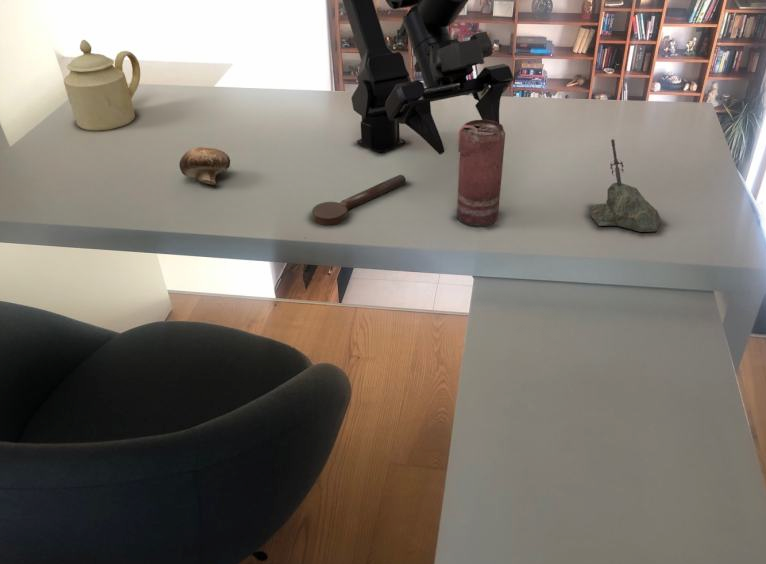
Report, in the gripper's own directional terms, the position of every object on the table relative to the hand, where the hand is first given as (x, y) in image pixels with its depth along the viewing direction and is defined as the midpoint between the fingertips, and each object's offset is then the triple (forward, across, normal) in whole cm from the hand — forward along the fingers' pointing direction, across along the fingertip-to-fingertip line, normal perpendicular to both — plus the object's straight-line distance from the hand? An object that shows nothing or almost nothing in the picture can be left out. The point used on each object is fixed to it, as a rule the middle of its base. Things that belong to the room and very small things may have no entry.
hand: (470, 146), depth 99 cm
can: (+9, 0, +5) cm, 11 cm away
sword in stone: (+17, +19, -2) cm, 26 cm away
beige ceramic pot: (-40, -41, +54) cm, 79 cm away
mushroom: (-14, -32, +28) cm, 44 cm away
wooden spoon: (0, -13, +14) cm, 19 cm away
